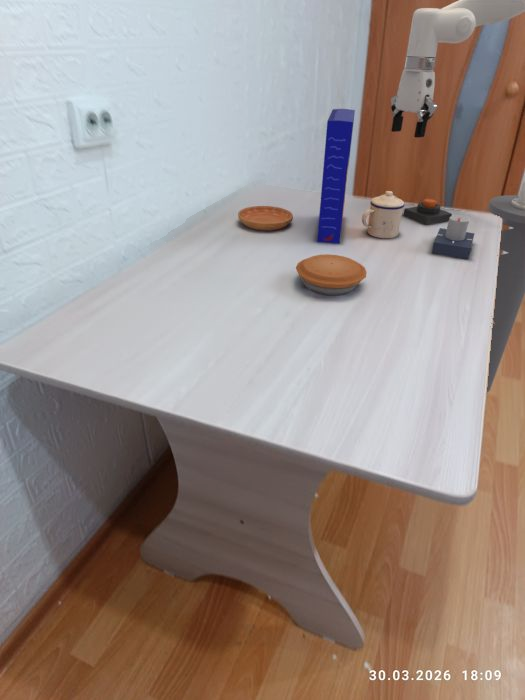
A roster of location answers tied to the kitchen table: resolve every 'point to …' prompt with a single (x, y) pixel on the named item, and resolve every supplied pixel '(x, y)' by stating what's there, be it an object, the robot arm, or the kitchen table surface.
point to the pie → (330, 274)
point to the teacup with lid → (384, 216)
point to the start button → (429, 203)
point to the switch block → (427, 214)
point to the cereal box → (335, 174)
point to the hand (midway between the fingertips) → (407, 134)
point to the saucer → (265, 217)
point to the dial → (457, 228)
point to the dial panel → (452, 245)
